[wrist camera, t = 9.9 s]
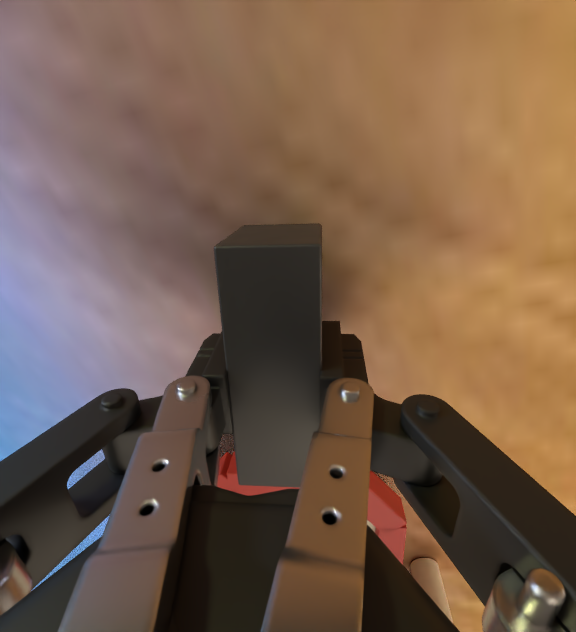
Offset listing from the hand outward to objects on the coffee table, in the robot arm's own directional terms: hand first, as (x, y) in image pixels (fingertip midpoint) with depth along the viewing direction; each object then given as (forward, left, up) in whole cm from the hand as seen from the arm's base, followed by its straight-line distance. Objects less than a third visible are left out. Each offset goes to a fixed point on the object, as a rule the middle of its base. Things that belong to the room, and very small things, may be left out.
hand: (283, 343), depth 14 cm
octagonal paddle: (+3, -6, 0) cm, 7 cm away
